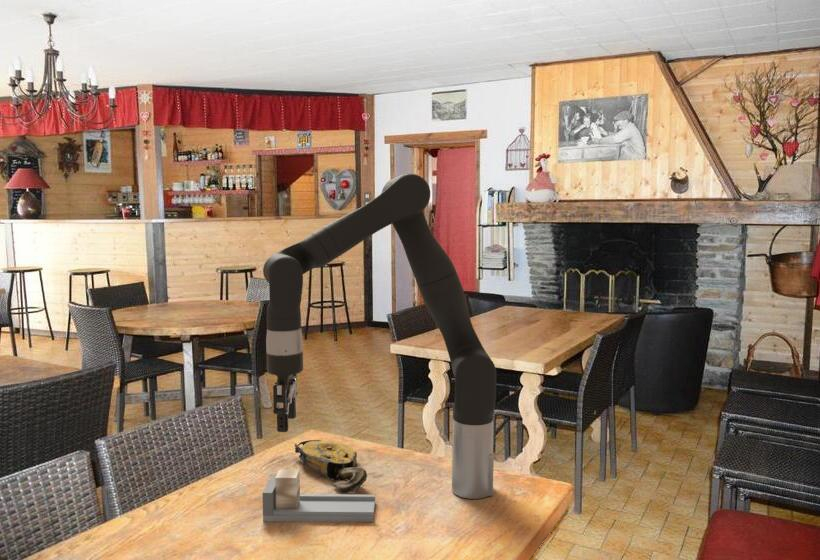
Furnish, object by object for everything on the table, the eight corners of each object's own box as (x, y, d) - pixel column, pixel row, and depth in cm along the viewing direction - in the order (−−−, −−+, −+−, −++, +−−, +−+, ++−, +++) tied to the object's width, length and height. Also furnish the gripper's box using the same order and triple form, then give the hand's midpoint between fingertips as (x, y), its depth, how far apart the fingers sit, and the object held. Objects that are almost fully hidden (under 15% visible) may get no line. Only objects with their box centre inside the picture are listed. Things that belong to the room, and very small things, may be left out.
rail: (375, 502, 151) (375, 476, 150) (372, 521, 142) (372, 493, 142) (271, 501, 151) (271, 475, 151) (263, 521, 142) (262, 492, 142)
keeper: (299, 500, 149) (299, 469, 148) (296, 509, 144) (296, 477, 144) (279, 500, 149) (279, 469, 148) (275, 509, 144) (275, 477, 144)
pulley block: (327, 474, 151) (292, 432, 178) (324, 499, 151) (289, 453, 178) (386, 473, 157) (343, 432, 184) (382, 498, 157) (340, 453, 184)
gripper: (297, 357, 135) (298, 436, 137) (307, 342, 149) (309, 413, 151) (259, 357, 135) (261, 436, 137) (273, 342, 149) (275, 414, 151)
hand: (286, 424), depth 144 cm, fingers open, 8 cm apart
